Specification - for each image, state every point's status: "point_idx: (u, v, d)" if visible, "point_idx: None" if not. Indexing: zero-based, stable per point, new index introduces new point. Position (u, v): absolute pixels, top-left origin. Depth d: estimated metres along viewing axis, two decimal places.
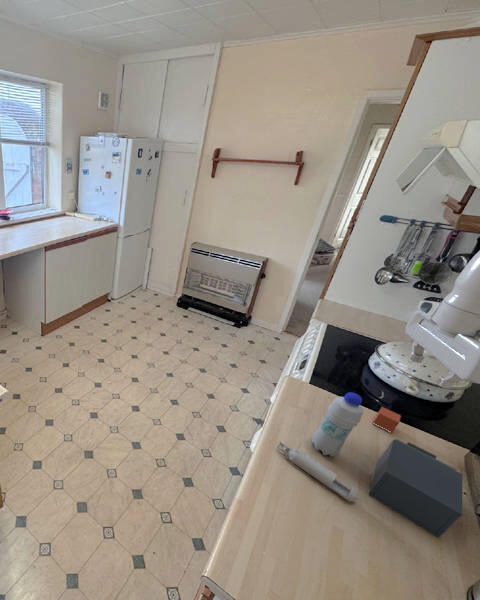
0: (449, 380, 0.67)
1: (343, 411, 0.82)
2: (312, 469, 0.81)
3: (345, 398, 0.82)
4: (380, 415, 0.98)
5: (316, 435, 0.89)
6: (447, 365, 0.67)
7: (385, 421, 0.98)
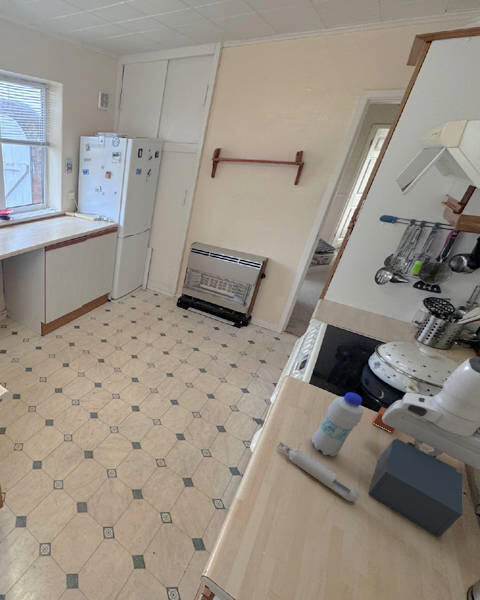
0: None
1: (343, 411, 0.82)
2: (313, 469, 0.81)
3: (345, 398, 0.82)
4: (380, 415, 0.98)
5: (316, 435, 0.89)
6: (458, 458, 0.78)
7: None
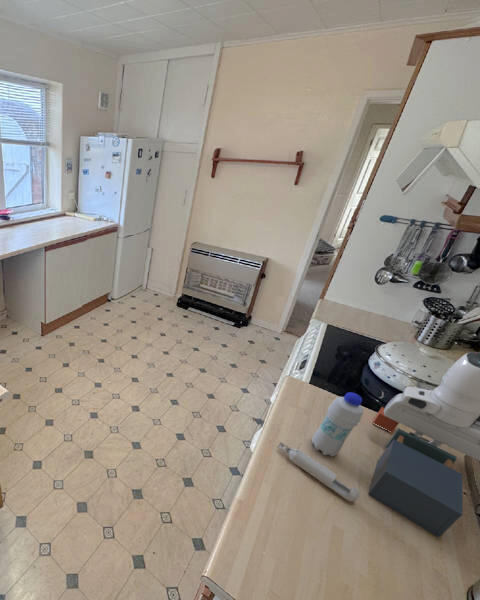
0: None
1: (343, 411, 0.82)
2: (313, 469, 0.81)
3: (345, 398, 0.82)
4: (380, 415, 0.98)
5: (316, 435, 0.89)
6: (457, 449, 0.82)
7: (385, 421, 0.98)
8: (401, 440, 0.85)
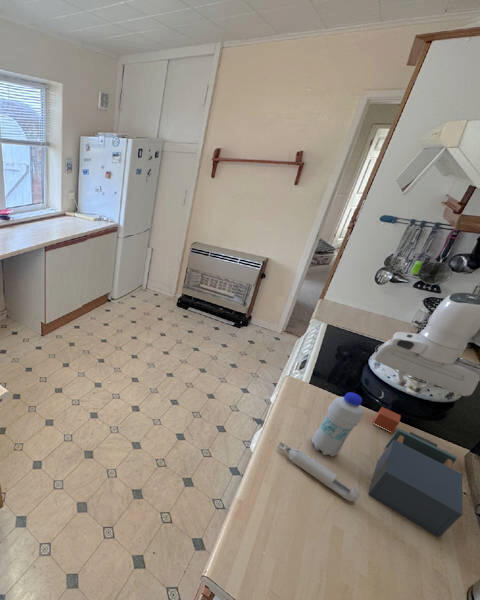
0: None
1: (343, 411, 0.82)
2: (313, 469, 0.81)
3: (345, 398, 0.82)
4: (380, 415, 0.98)
5: (316, 435, 0.89)
6: (442, 386, 0.87)
7: (385, 421, 0.98)
8: (401, 440, 0.85)
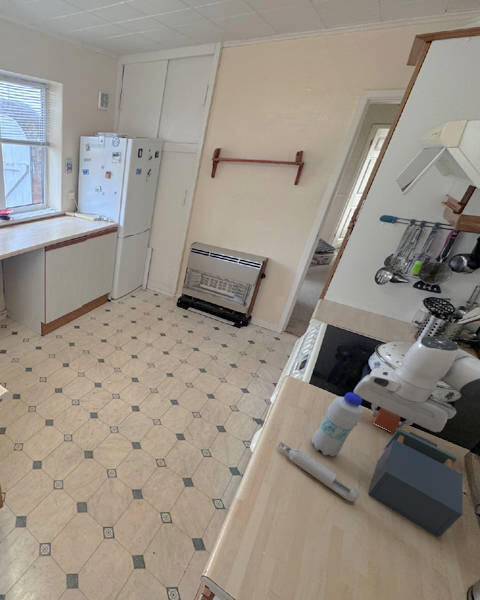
0: None
1: (343, 411, 0.82)
2: (313, 469, 0.81)
3: (345, 398, 0.82)
4: (380, 415, 0.98)
5: (316, 435, 0.89)
6: (415, 422, 0.93)
7: (385, 421, 0.98)
8: (401, 440, 0.85)
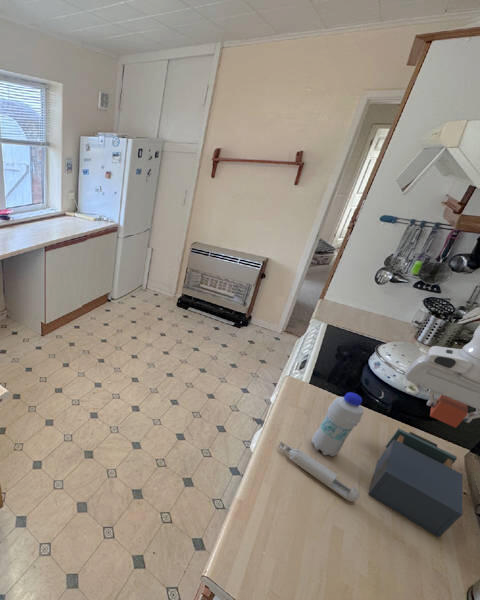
0: None
1: (343, 411, 0.82)
2: (313, 469, 0.81)
3: (345, 398, 0.82)
4: (441, 404, 0.78)
5: (316, 435, 0.89)
6: None
7: (448, 412, 0.77)
8: (401, 440, 0.85)
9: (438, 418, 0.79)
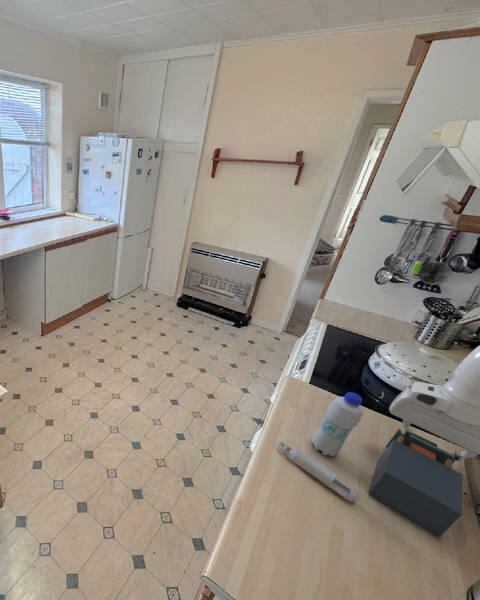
0: None
1: (343, 411, 0.82)
2: (313, 468, 0.81)
3: (345, 398, 0.82)
4: None
5: (316, 435, 0.89)
6: (470, 449, 0.75)
7: None
8: (401, 440, 0.85)
9: None
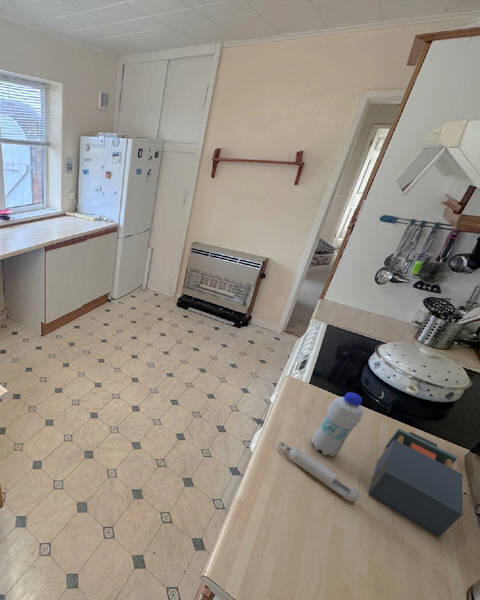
0: None
1: (343, 411, 0.82)
2: (313, 468, 0.81)
3: (345, 398, 0.82)
4: None
5: (316, 435, 0.89)
6: None
7: None
8: (401, 440, 0.85)
9: None
